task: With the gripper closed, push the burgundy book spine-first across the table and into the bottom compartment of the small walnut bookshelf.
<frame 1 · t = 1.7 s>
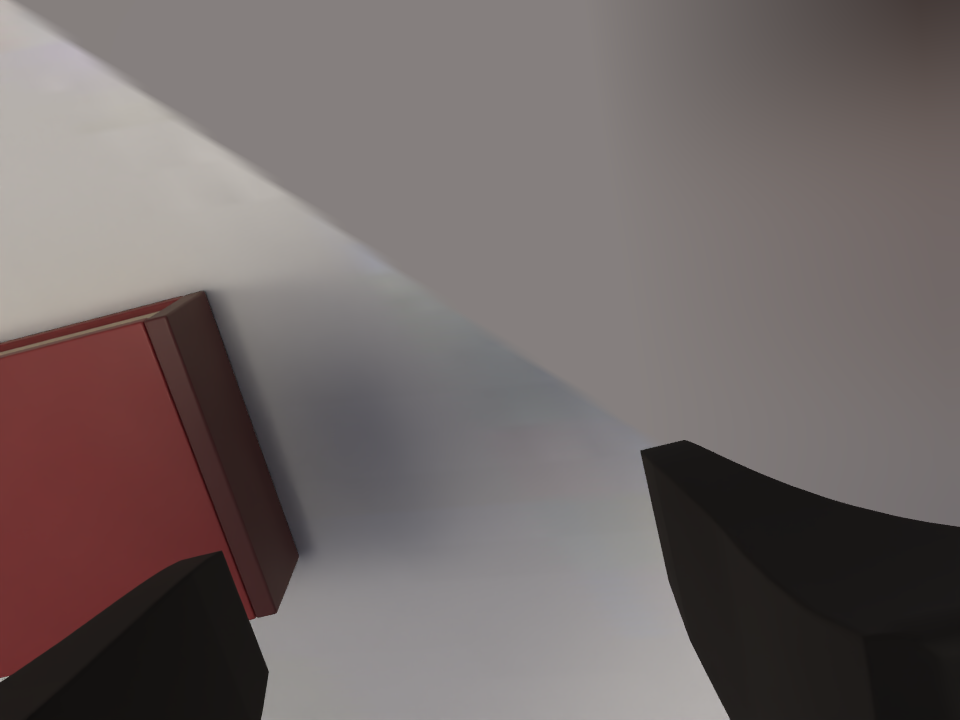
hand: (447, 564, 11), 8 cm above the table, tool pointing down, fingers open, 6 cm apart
book: (58, 478, 20), on the table
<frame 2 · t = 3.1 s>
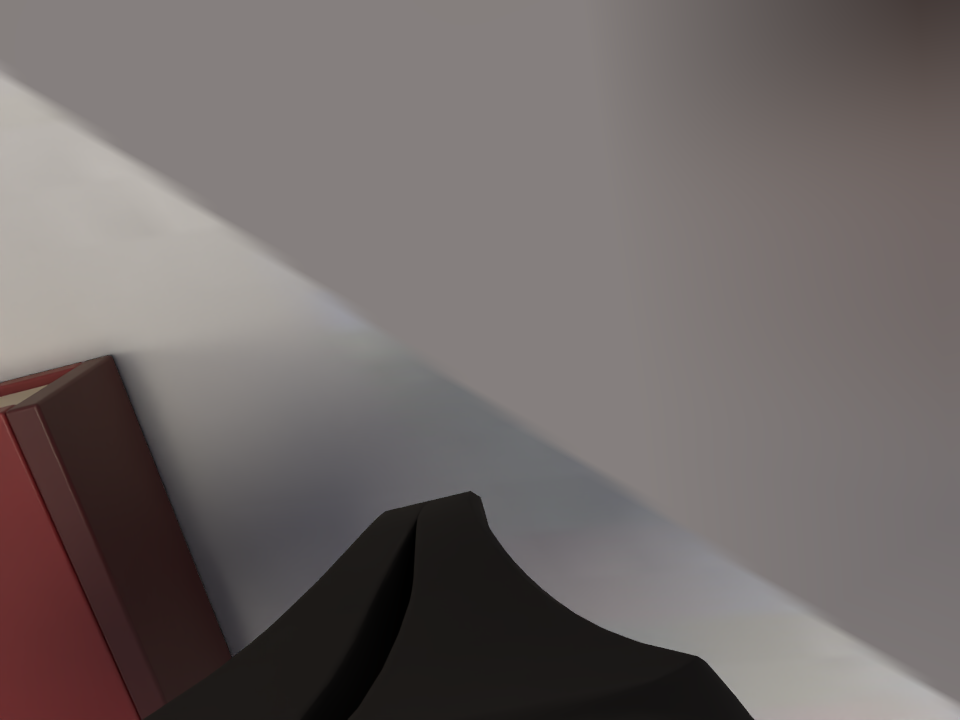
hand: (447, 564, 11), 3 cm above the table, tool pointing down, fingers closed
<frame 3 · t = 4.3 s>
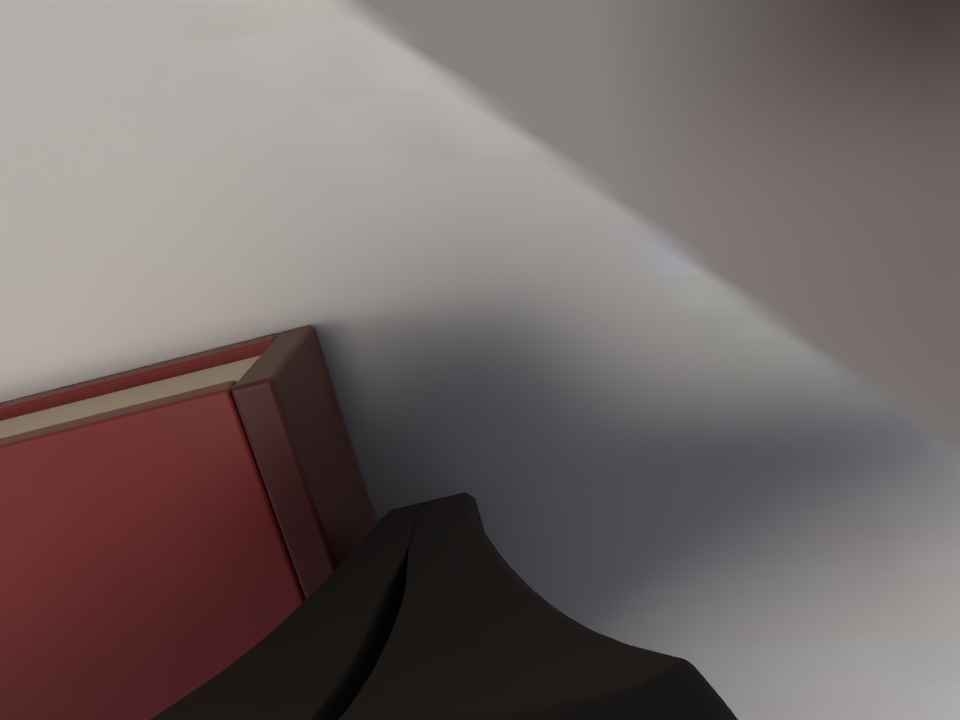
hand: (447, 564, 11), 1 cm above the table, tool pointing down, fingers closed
book: (71, 617, 13), on the table, touching gripper
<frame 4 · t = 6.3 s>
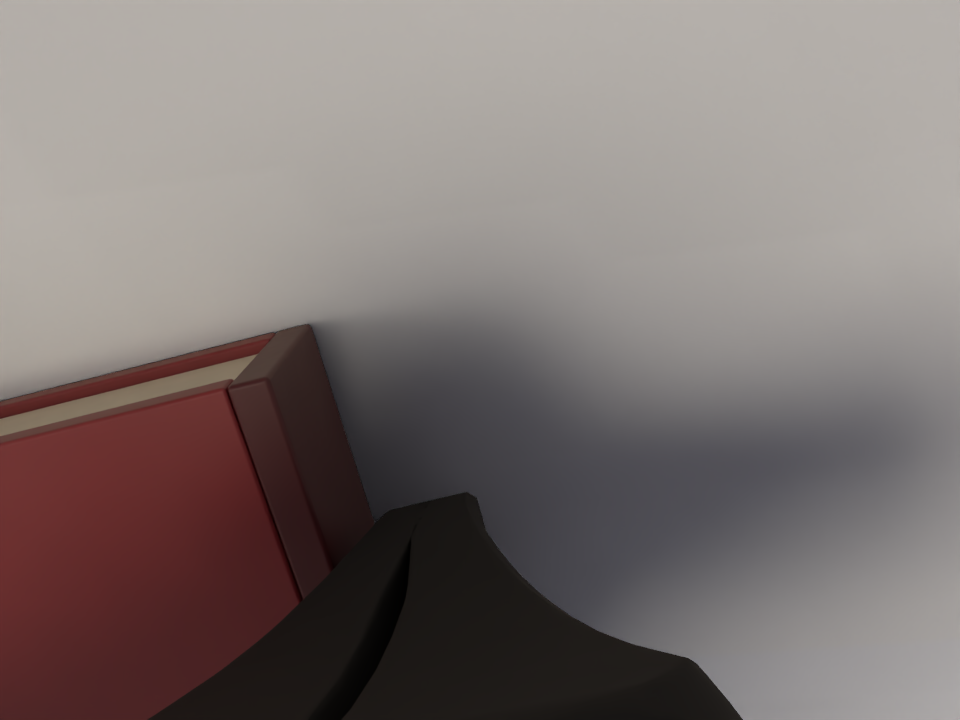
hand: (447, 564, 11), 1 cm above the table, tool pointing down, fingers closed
book: (68, 616, 13), on the table, touching gripper
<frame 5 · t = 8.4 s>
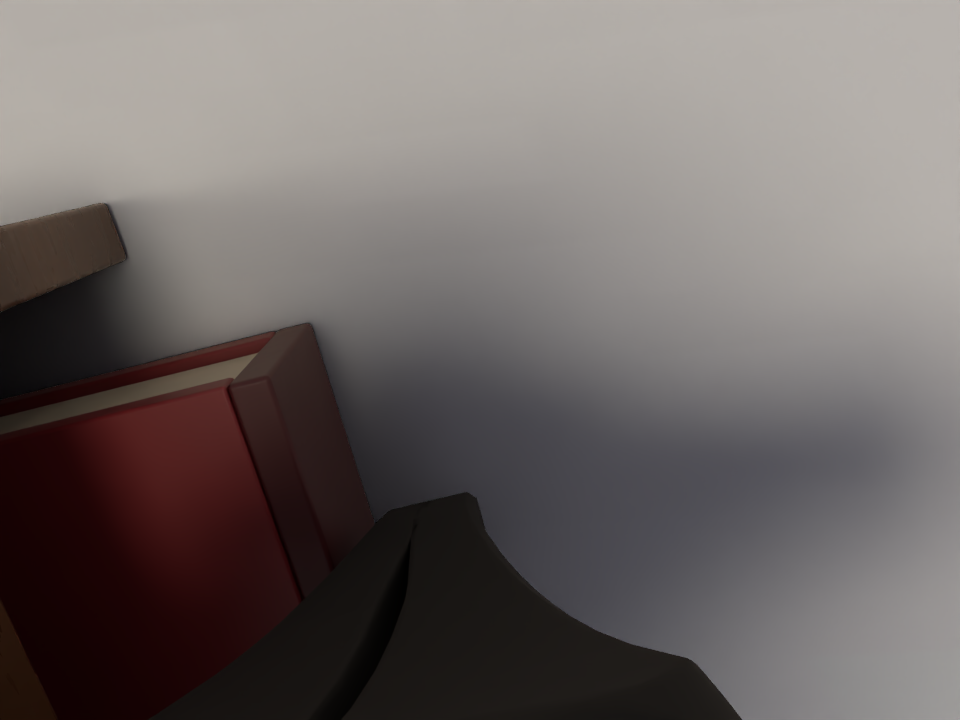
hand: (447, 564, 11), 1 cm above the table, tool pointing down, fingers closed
book: (67, 614, 13), on the table, touching gripper
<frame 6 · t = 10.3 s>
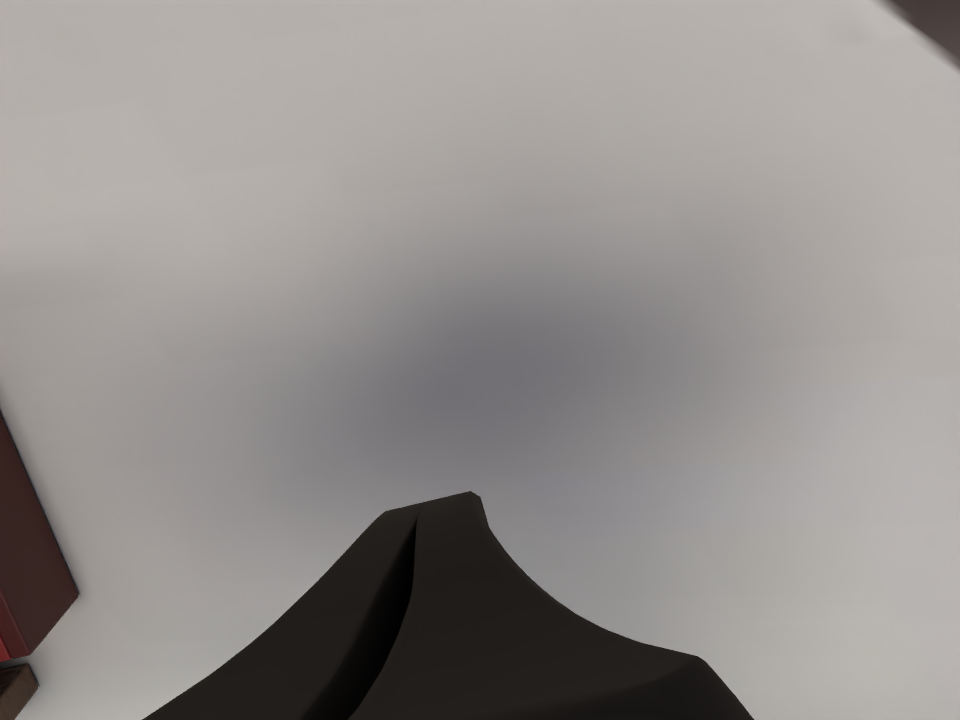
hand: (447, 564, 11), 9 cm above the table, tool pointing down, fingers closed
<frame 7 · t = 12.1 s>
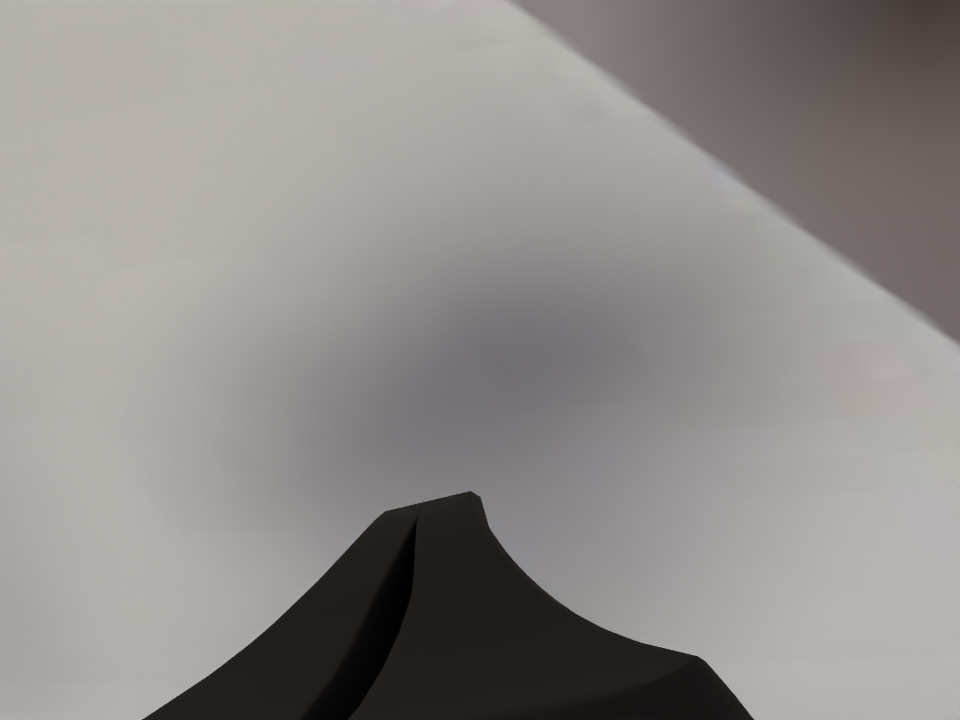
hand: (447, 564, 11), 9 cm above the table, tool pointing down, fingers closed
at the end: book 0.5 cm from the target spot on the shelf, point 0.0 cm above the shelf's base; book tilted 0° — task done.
